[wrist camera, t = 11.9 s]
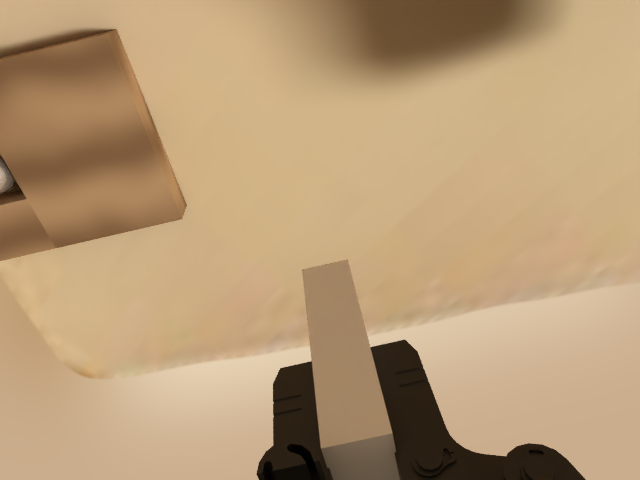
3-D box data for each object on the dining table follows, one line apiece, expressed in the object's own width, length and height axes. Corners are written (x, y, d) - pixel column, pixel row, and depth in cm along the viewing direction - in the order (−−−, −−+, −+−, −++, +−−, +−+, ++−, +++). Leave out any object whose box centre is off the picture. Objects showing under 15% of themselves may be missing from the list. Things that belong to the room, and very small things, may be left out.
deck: (-130, 89, 34) (-157, 97, 31) (116, 29, 33) (105, 34, 31) (-18, 252, 41) (-34, 268, 39) (186, 205, 40) (182, 219, 38)
